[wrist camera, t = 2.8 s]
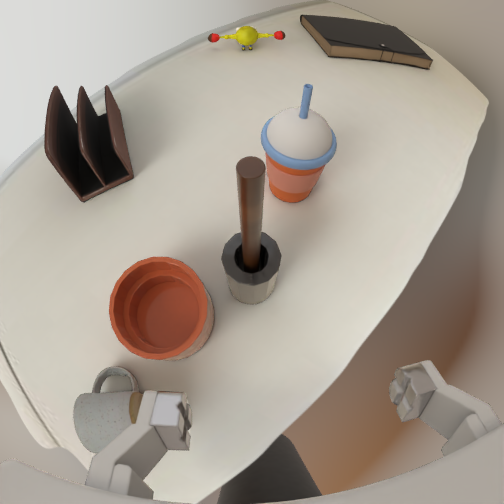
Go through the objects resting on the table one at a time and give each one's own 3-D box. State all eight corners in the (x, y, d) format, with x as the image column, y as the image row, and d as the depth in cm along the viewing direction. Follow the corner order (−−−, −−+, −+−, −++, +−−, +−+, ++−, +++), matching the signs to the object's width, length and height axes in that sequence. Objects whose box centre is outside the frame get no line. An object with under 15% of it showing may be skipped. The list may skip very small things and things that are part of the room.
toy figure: (282, 44, 59) (283, 22, 53) (285, 53, 57) (287, 30, 51) (209, 47, 58) (207, 25, 52) (209, 56, 56) (206, 33, 50)
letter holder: (82, 203, 41) (37, 150, 28) (77, 131, 48) (50, 82, 35) (135, 178, 43) (102, 115, 30) (120, 111, 49) (98, 57, 36)
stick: (259, 285, 36) (269, 174, 15) (247, 289, 36) (241, 181, 15) (255, 273, 36) (259, 153, 16) (243, 277, 36) (232, 160, 16)
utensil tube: (280, 296, 36) (289, 274, 27) (237, 310, 35) (232, 292, 27) (265, 255, 38) (268, 223, 29) (223, 269, 37) (215, 239, 29)
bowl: (226, 346, 34) (221, 342, 28) (141, 369, 32) (121, 369, 27) (200, 262, 37) (191, 244, 32) (122, 287, 36) (102, 273, 31)
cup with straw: (302, 223, 40) (332, 128, 23) (247, 192, 41) (244, 91, 25) (330, 179, 42) (363, 86, 26) (279, 153, 44) (289, 56, 28)
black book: (331, 44, 53) (300, 12, 62) (328, 57, 57) (299, 23, 66) (434, 60, 55) (393, 24, 64) (429, 70, 59) (390, 33, 68)
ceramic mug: (166, 441, 29) (145, 457, 22) (111, 446, 28) (81, 459, 21) (144, 362, 33) (118, 358, 26) (91, 371, 32) (58, 368, 25)
